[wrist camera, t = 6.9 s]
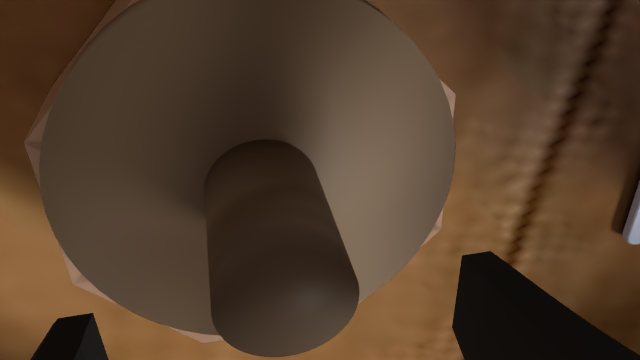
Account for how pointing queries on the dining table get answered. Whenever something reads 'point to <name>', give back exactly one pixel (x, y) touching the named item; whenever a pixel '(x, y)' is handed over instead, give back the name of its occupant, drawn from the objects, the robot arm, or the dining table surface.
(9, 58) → the dining table surface
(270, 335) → the lid
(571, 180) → the dining table surface
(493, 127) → the dining table surface
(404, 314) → the dining table surface
